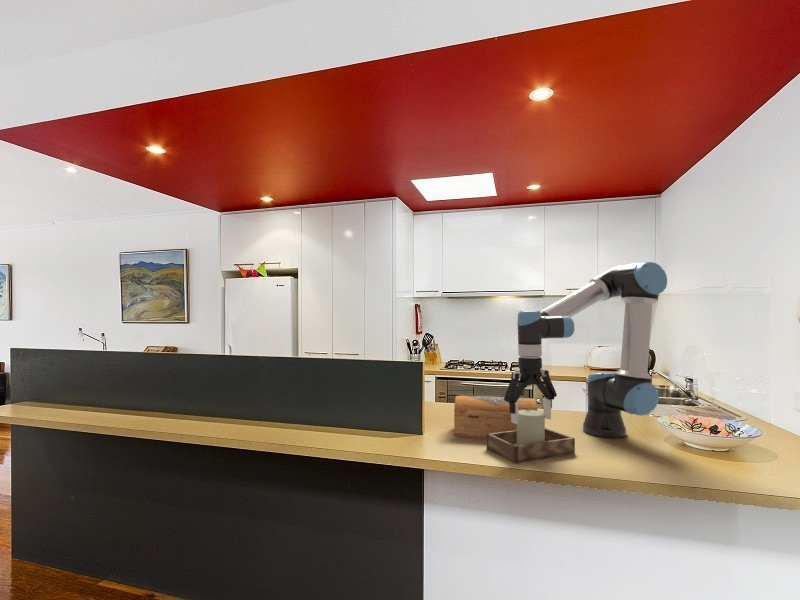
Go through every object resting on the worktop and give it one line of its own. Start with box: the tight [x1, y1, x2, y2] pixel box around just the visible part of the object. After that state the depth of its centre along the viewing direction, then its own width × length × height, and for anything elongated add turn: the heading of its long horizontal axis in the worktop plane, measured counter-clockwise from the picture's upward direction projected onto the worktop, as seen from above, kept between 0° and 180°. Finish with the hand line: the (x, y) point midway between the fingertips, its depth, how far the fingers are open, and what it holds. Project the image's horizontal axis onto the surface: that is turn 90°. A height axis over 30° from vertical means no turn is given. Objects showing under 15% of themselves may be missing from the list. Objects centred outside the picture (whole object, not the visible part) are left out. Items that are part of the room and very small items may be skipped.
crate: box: [486, 427, 576, 464], centre depth 142 cm, size 24×15×5 cm, turn 113°
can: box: [516, 410, 546, 445], centre depth 142 cm, size 9×9×12 cm
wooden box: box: [453, 395, 538, 440], centre depth 163 cm, size 30×16×14 cm, turn 79°
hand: (531, 420), depth 142 cm, fingers open, 13 cm apart
